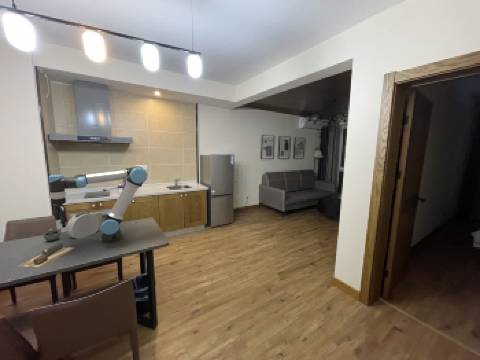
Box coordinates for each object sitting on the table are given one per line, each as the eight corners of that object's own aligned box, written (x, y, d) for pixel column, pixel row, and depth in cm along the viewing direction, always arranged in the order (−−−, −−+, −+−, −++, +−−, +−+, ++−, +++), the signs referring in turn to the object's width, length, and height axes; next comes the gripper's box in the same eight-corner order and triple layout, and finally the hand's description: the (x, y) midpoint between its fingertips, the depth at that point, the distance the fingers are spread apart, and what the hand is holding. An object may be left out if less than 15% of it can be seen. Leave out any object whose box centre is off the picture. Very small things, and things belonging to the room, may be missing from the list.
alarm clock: (94, 230, 186) (92, 209, 183) (99, 231, 183) (98, 210, 181) (67, 239, 166) (64, 215, 164) (73, 241, 164) (70, 217, 161)
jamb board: (75, 249, 151) (75, 243, 150) (43, 268, 126) (42, 261, 126) (54, 248, 151) (53, 242, 151) (17, 268, 126) (16, 260, 126)
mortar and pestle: (45, 240, 164) (43, 226, 162) (61, 237, 169) (59, 223, 168) (43, 246, 155) (41, 230, 153) (60, 242, 161) (58, 228, 159)
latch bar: (46, 256, 137) (46, 251, 136) (40, 256, 137) (40, 251, 137) (63, 247, 150) (63, 242, 149) (58, 247, 150) (57, 242, 149)
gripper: (71, 199, 136) (74, 232, 139) (59, 194, 147) (63, 225, 151) (56, 201, 130) (60, 235, 133) (45, 196, 141) (49, 228, 144)
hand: (61, 230), depth 142 cm, fingers open, 8 cm apart
